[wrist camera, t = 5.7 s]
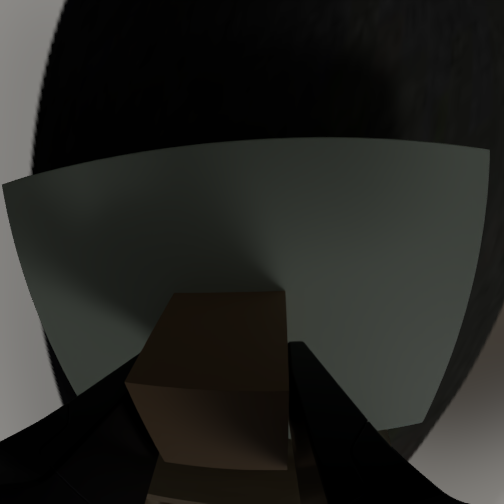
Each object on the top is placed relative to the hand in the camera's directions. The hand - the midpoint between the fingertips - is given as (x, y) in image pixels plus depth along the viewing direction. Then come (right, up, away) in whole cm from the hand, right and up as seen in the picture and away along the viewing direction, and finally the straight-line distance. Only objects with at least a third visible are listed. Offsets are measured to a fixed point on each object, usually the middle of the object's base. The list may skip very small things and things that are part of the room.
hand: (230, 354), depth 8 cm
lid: (0, +1, +3) cm, 3 cm away
